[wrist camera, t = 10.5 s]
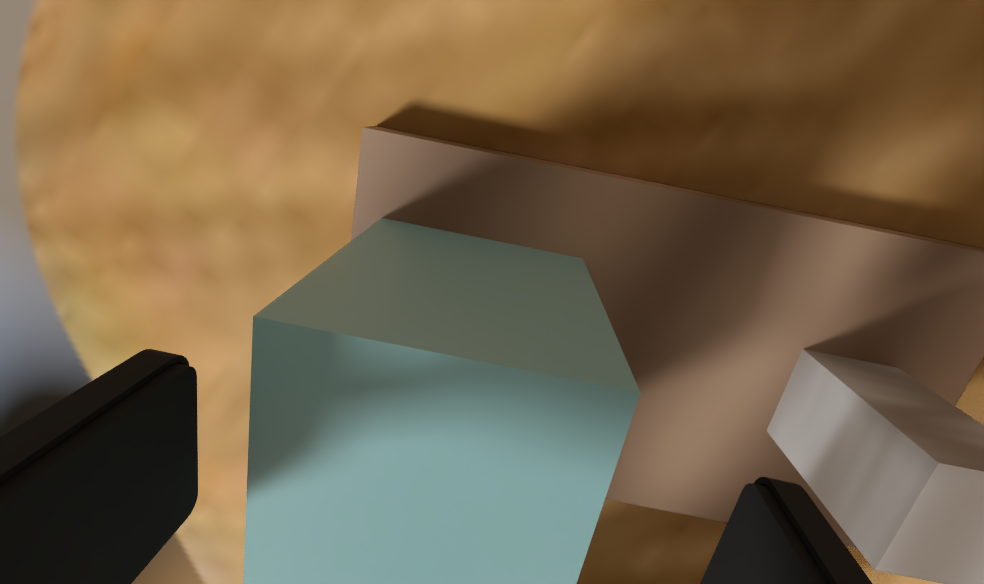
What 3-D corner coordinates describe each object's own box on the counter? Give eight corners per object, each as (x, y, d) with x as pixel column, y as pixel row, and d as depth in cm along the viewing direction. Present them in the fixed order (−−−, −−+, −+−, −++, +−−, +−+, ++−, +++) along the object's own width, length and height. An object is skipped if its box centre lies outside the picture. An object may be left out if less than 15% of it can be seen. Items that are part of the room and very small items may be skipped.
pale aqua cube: (582, 258, 14) (640, 392, 7) (537, 428, 16) (550, 659, 9) (381, 217, 14) (253, 316, 7) (360, 393, 16) (243, 601, 9)
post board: (997, 251, 15) (1319, 345, 9) (849, 522, 18) (1008, 721, 12) (374, 125, 14) (274, 136, 8) (343, 425, 18) (255, 580, 12)
